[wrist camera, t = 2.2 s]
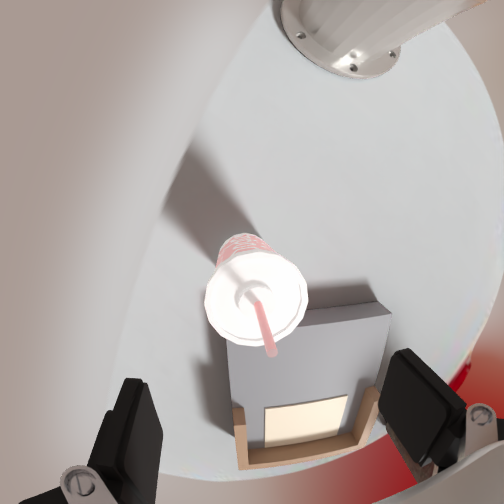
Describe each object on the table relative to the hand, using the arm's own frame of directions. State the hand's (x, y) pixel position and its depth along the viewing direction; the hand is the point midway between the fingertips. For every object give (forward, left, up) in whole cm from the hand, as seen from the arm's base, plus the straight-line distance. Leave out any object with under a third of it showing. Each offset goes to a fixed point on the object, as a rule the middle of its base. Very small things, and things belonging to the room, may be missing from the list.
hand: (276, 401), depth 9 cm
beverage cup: (-1, 0, -17) cm, 17 cm away
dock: (+14, +6, -16) cm, 23 cm away
